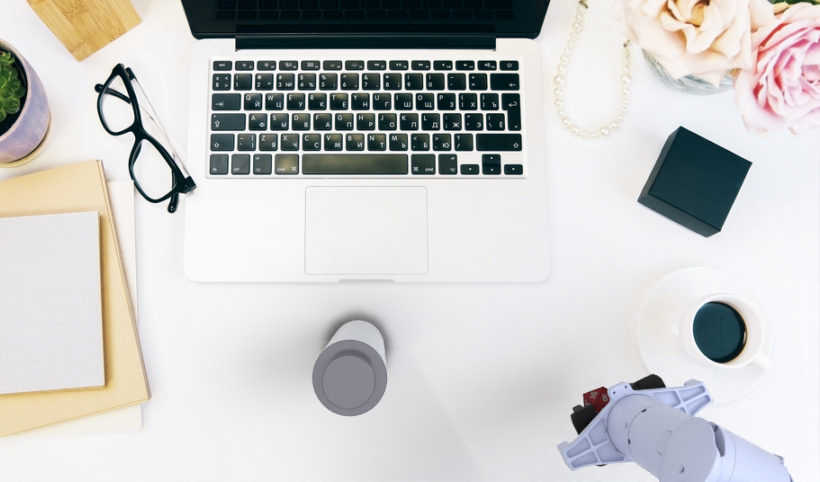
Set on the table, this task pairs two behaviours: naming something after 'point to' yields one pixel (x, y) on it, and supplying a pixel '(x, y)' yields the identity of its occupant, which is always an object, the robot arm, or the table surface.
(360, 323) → the grey-lidded white canister
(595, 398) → the dice
